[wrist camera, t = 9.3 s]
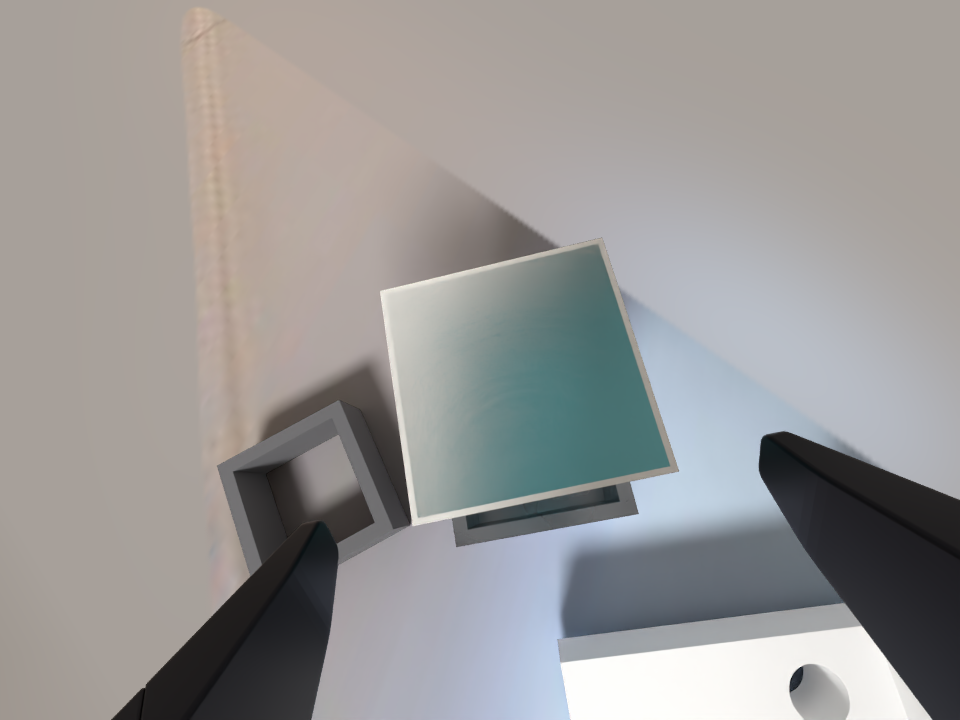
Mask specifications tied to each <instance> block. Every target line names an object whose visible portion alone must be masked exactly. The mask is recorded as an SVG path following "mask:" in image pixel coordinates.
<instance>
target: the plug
mask: <svg viewBox="0 0 960 720" xmlns="http://www.w3.org/2000/svg"><path fill="white" fill-rule="evenodd" d="M380 295H381V302H382V309H383V316H384V324H385V331H386V338H387V345H388V352H389V360H390V367H391V374H392V381H393V388H394V396H395V403H396V410H397V417H398V424H399V432H400V439H401V446H402V453H403V460H404V468H405V475H406V482H407V489H408V496H409V504H410V511H411V518H412V525H413V526H417V525H421V524H426V523H431V522H436V521H441V520H446V519H451V518H455V517H460V516H465V515H470V514H475V513H480V512H485V511H489V510H494V509H499V508H504V507H509V506H514V505H518V504H523V503H528V502H533V501H538V500H543V499H548V498H552V497H557V496H562V495H567V494H572V493H577V492H582V491H586V490H591V489H596V488H601V487H606V486H611V485H616V484H620V483H625V482H630V481H635V480H640V479H645V478H650V477H654V476H659V475H664V474H669V473H674V472H679V470H678V466H677V463H676V460H675V457H674V454H673V451H672V448H671V445H670V442H669V439H668V436H667V433H666V430H665V427H664V424H663V421H662V418H661V415H660V412H659V409H658V406H657V403H656V400H655V397H654V394H653V391H652V388H651V384H650V381H649V378H648V375H647V372H646V369H645V366H644V363H643V360H642V357H641V354H640V351H639V348H638V345H637V342H636V339H635V336H634V333H633V330H632V327H631V324H630V321H629V318H628V315H627V312H626V309H625V305H624V302H623V299H622V296H621V293H620V290H619V287H618V284H617V281H616V278H615V275H614V272H613V269H612V266H611V263H610V260H609V257H608V254H607V251H606V248H605V245H604V242H603V239H602V238H599V239H594V240H590V241H586V242H582V243H578V244H573V245H569V246H565V247H561V248H557V249H553V250H549V251H544V252H540V253H536V254H532V255H528V256H524V257H520V258H515V259H511V260H507V261H503V262H499V263H495V264H490V265H486V266H482V267H478V268H474V269H470V270H466V271H461V272H457V273H453V274H449V275H445V276H441V277H437V278H432V279H428V280H424V281H420V282H416V283H412V284H408V285H403V286H399V287H395V288H391V289H387V290H383V291H380Z"/></svg>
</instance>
